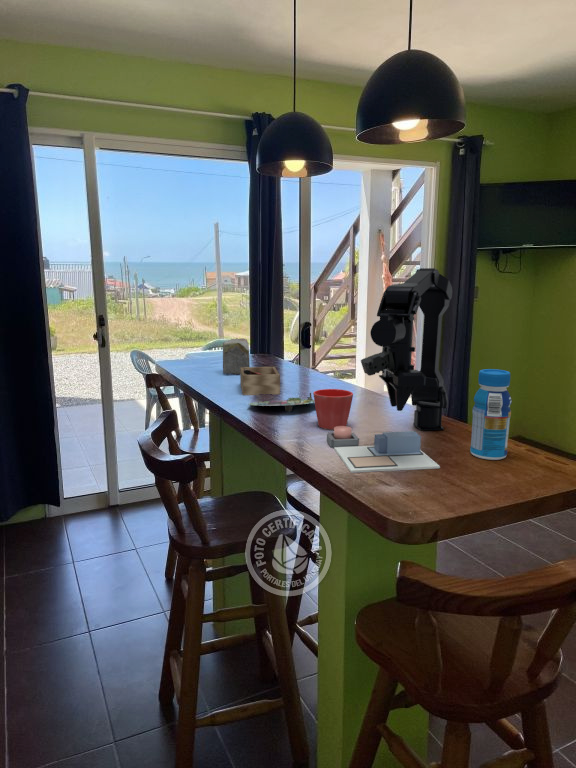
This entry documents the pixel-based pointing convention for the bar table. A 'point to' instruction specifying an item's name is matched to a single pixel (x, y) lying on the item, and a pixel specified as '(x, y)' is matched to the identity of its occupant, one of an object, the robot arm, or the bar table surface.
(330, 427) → the flower pot
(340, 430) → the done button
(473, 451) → the beverage bottle
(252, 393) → the open wooden box
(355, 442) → the button housing
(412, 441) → the blue paint stick
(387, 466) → the white sorting board
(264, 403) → the city model
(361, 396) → the bar table surface
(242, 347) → the geological specimen
